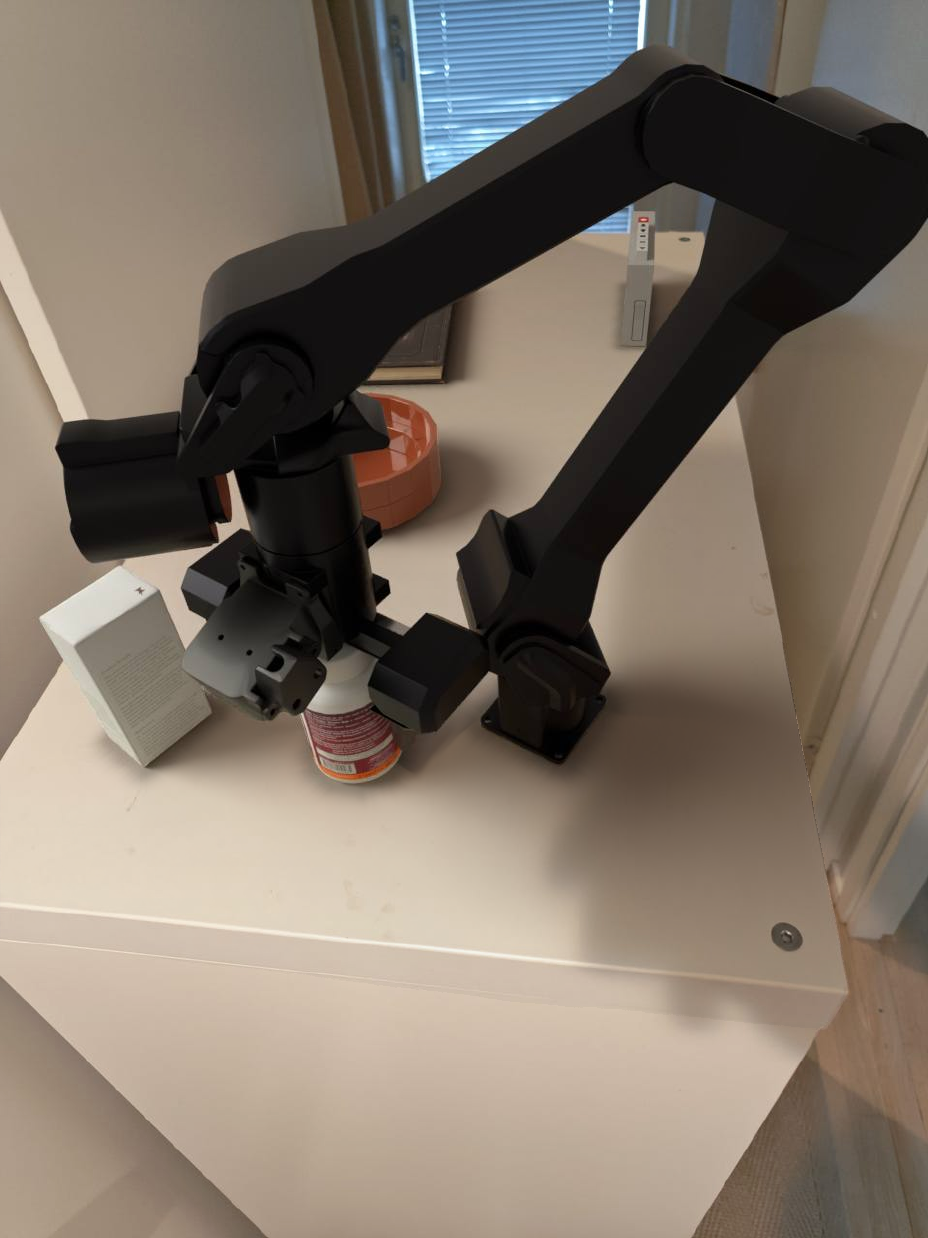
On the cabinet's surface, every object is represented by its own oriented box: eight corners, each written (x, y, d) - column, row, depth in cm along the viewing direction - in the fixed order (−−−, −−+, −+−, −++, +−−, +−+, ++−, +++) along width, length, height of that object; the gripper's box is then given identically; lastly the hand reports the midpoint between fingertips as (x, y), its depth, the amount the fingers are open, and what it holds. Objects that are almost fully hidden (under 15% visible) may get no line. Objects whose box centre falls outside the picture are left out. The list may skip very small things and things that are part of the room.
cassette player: (625, 286, 106) (632, 202, 99) (647, 286, 105) (656, 202, 98) (621, 345, 95) (628, 255, 88) (645, 346, 95) (655, 255, 88)
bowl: (371, 562, 70) (362, 509, 67) (242, 506, 77) (226, 455, 73) (473, 471, 79) (470, 419, 75) (349, 427, 86) (340, 378, 82)
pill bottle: (421, 757, 56) (403, 638, 48) (339, 803, 54) (305, 687, 46) (376, 699, 60) (352, 580, 52) (297, 740, 58) (259, 622, 50)
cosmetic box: (177, 686, 62) (122, 561, 53) (214, 714, 60) (162, 588, 51) (106, 740, 58) (35, 616, 50) (142, 771, 56) (74, 647, 48)
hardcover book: (457, 292, 107) (456, 274, 106) (444, 383, 91) (443, 363, 89) (333, 295, 109) (330, 278, 107) (298, 386, 92) (294, 367, 91)
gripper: (62, 546, 43) (155, 736, 54) (343, 697, 35) (386, 885, 46) (223, 441, 49) (277, 630, 60) (492, 548, 41) (498, 744, 52)
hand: (349, 714), depth 54 cm, fingers open, 9 cm apart
